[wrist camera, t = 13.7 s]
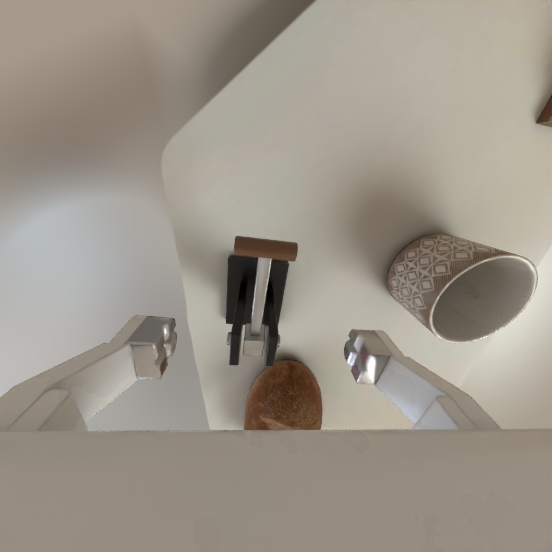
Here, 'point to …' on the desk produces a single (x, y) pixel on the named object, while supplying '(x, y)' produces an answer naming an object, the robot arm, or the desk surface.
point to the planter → (461, 286)
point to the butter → (546, 115)
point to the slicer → (242, 303)
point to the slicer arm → (261, 283)
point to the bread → (284, 399)
